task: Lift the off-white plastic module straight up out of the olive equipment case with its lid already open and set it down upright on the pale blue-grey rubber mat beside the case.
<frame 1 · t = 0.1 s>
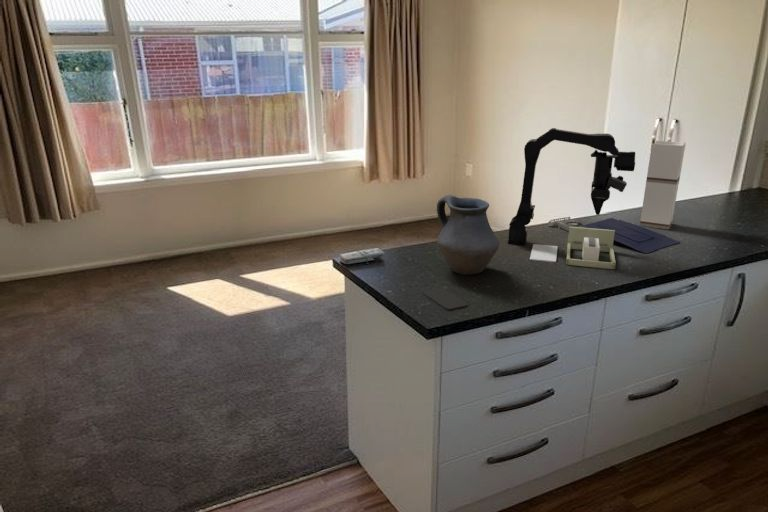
hand: (597, 211, 211), 15 cm above the worktop, fingers open, 9 cm apart
equipment case: (589, 257, 207), on the worktop
phone: (444, 301, 171), on the worktop
mat: (544, 253, 211), on the worktop
module: (589, 258, 207), resting in equipment case
tall banded white pillar: (655, 225, 248), on the worktop
graphics card: (570, 231, 241), on the worktop
navy flat panel: (628, 239, 229), on the worktop
pitcher: (464, 270, 195), on the worktop
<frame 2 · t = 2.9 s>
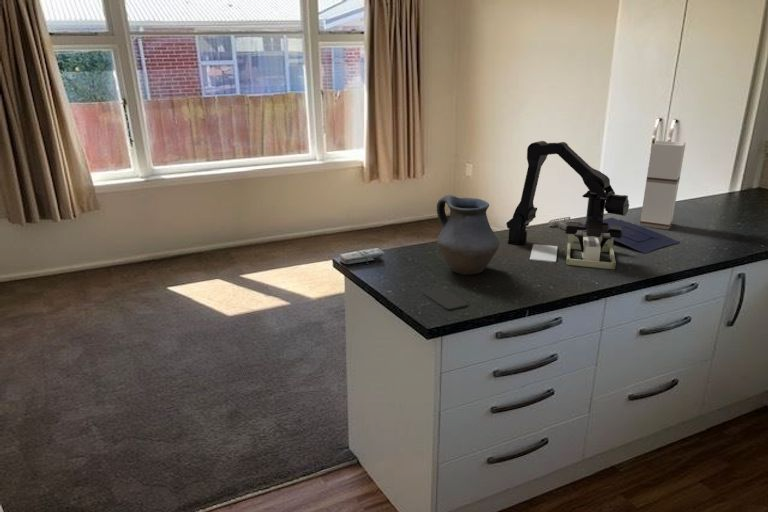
hand: (590, 253, 206), 2 cm above the worktop, fingers closed on module, 5 cm apart
module: (589, 258, 207), resting in equipment case, touching gripper
everything else where it was.
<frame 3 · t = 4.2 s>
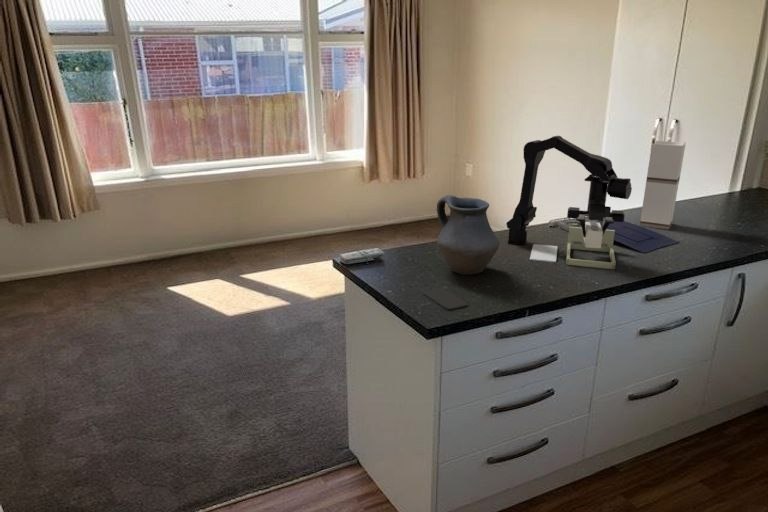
hand: (592, 237, 204), 8 cm above the worktop, fingers closed on module, 5 cm apart
module: (591, 242, 205), point 6 cm above the worktop, touching gripper
everything else where it was.
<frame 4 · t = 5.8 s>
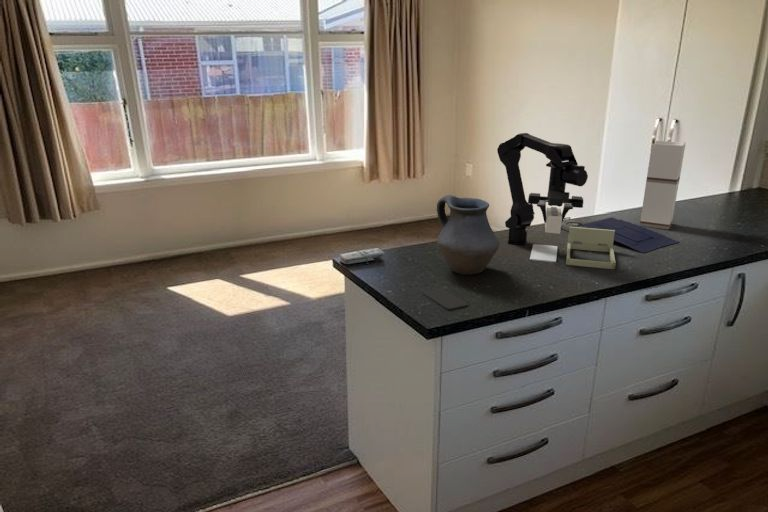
hand: (552, 223, 207), 12 cm above the worktop, fingers closed on module, 5 cm apart
module: (552, 228, 208), point 10 cm above the worktop, touching gripper
everything else where it was.
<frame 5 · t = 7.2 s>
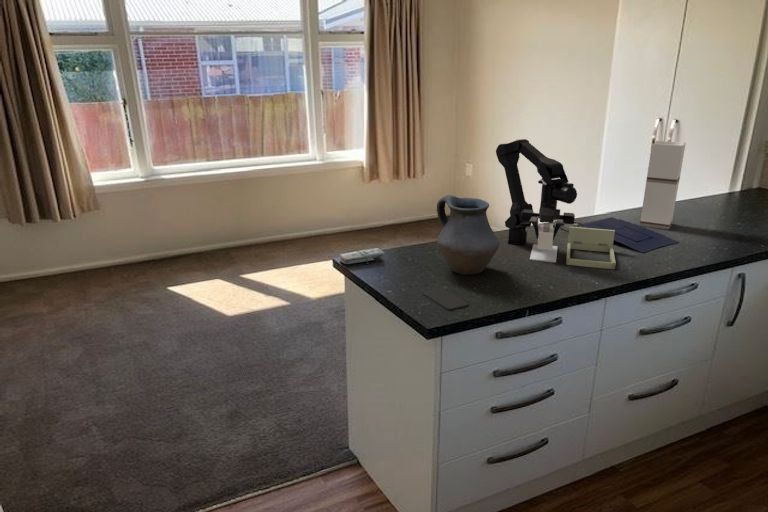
hand: (545, 239, 210), 5 cm above the worktop, fingers closed on module, 5 cm apart
module: (544, 244, 210), point 4 cm above the worktop, touching gripper
when the fingers open (3 cm above the worktop, at t = 8.5 s): module stays where it is, resting on mat.
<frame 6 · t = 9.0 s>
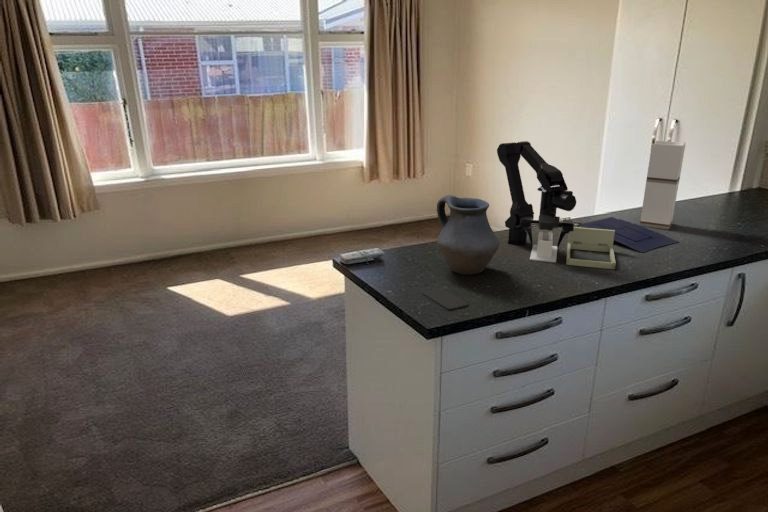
hand: (544, 246, 210), 3 cm above the worktop, fingers open, 9 cm apart
module: (544, 252, 211), resting on mat
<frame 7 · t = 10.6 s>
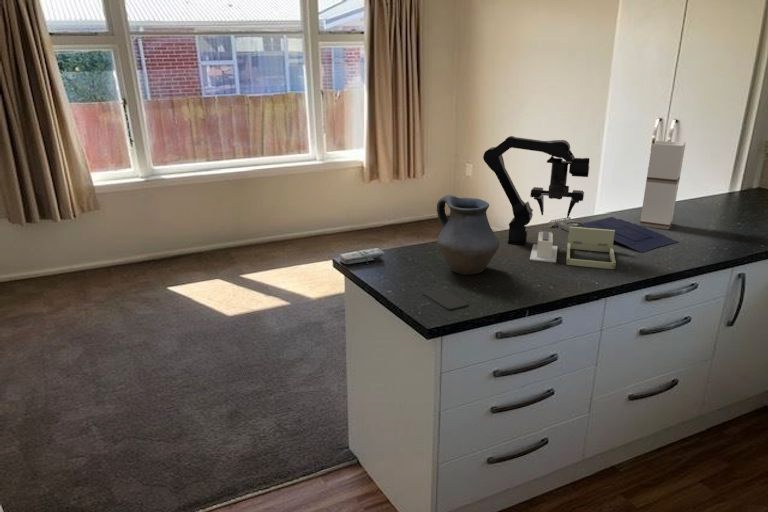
hand: (554, 216, 216), 12 cm above the worktop, fingers open, 9 cm apart
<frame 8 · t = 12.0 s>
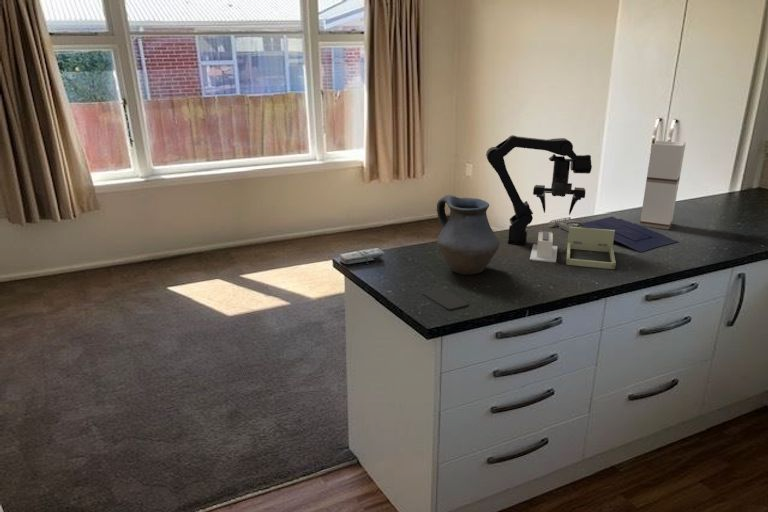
hand: (556, 213, 219), 12 cm above the worktop, fingers open, 9 cm apart
at the end: module inside the target area on the mat (0.0 cm from its centre), point 0.5 cm above the mat's base; module tilted 0°; the gripper is holding nothing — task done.
